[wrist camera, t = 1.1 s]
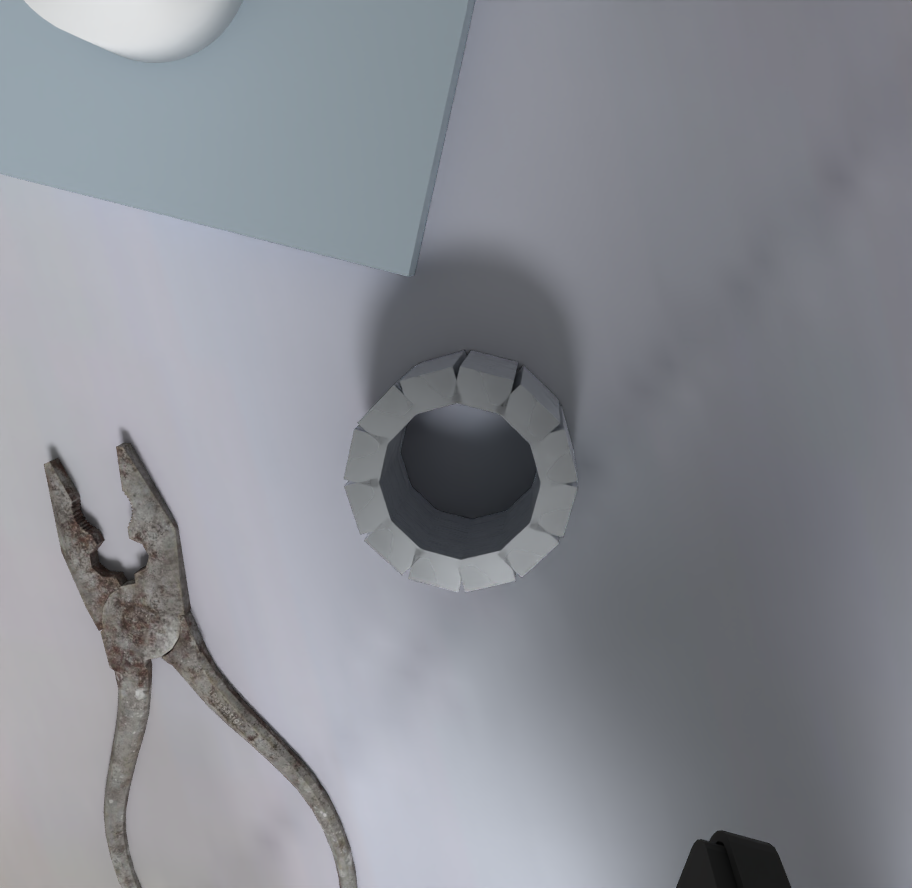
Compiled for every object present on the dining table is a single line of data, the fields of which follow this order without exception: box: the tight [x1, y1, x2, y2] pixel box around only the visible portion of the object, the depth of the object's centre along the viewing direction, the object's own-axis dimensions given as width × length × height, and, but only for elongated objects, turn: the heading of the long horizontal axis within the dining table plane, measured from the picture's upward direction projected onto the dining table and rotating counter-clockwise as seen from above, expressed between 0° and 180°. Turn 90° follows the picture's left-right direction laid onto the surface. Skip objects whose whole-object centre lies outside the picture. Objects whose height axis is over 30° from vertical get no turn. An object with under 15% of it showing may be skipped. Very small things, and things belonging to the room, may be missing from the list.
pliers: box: [44, 443, 357, 888], centre depth 29 cm, size 10×1×20 cm
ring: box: [344, 350, 578, 593], centre depth 24 cm, size 6×6×4 cm
